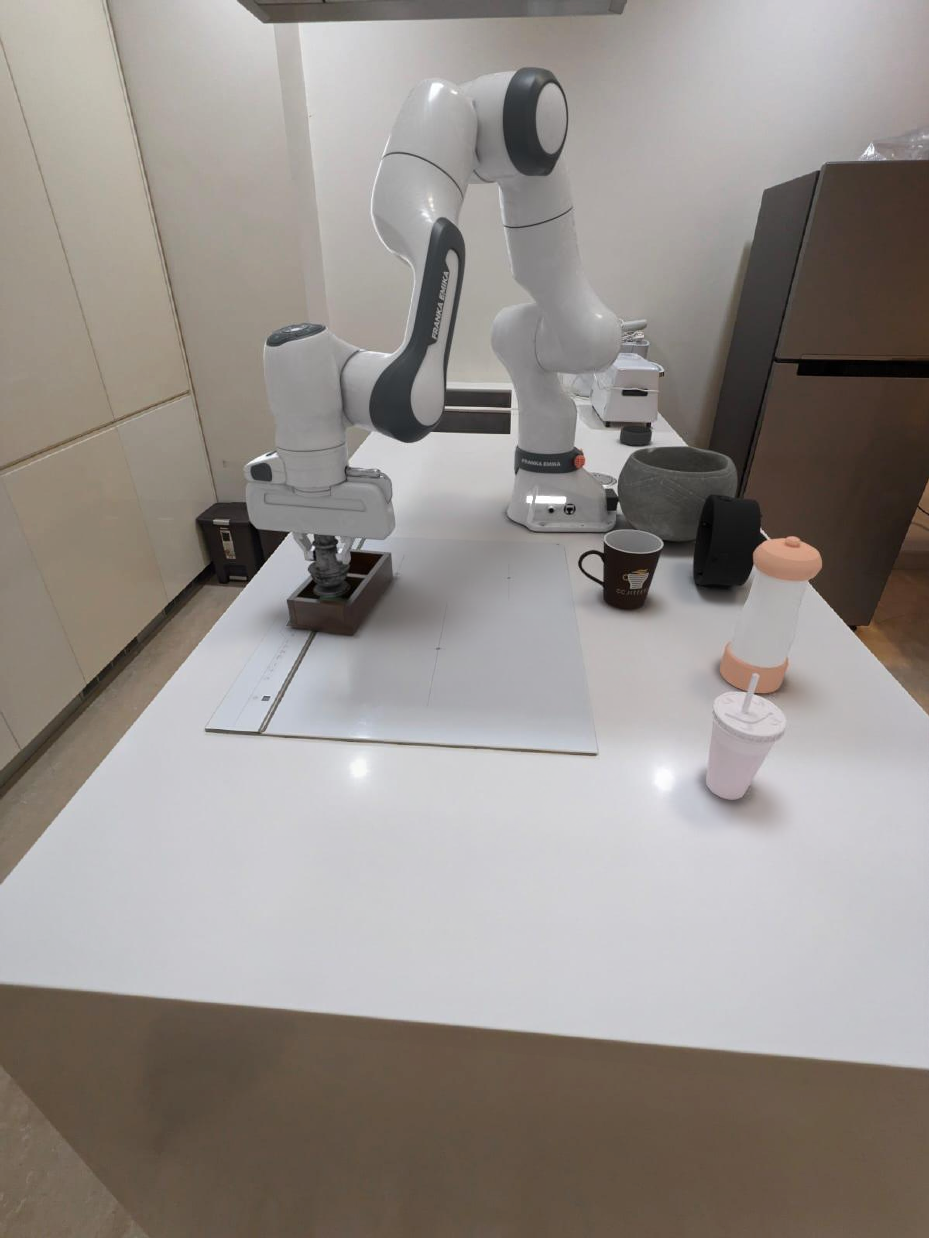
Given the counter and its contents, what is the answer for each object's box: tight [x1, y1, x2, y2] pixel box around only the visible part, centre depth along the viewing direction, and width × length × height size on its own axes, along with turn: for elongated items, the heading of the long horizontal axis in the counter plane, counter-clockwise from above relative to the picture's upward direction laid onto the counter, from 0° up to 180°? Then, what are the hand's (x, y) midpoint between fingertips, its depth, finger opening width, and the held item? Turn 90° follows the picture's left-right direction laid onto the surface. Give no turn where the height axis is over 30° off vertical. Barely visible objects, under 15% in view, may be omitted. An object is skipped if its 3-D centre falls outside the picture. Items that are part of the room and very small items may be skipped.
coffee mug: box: [577, 529, 665, 611], centre depth 89 cm, size 12×9×10 cm
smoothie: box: [705, 673, 788, 801], centre depth 55 cm, size 6×6×14 cm
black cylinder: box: [692, 494, 768, 589], centre depth 92 cm, size 14×14×10 cm
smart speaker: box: [619, 425, 653, 447], centre depth 169 cm, size 9×9×4 cm
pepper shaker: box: [719, 535, 823, 694], centre depth 69 cm, size 7×7×19 cm
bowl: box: [616, 445, 738, 542], centre depth 109 cm, size 21×21×15 cm
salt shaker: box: [307, 534, 350, 598], centre depth 82 cm, size 6×6×12 cm
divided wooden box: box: [286, 546, 394, 637], centre depth 89 cm, size 10×18×5 cm, turn 168°
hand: (327, 561), depth 82 cm, fingers closed on salt shaker, 3 cm apart
